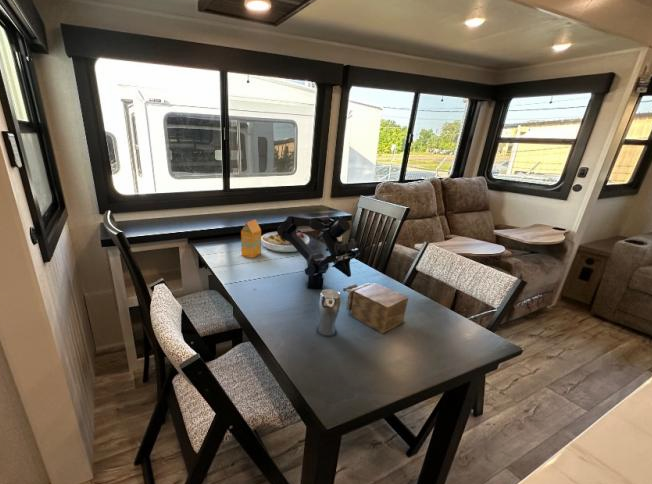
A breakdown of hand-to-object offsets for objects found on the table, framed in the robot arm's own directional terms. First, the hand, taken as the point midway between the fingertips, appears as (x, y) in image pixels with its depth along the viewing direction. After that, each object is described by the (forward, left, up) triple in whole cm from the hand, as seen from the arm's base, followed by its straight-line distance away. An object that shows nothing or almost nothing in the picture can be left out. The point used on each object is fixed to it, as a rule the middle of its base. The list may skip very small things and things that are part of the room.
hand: (349, 276), depth 124 cm
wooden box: (+10, -11, -12) cm, 19 cm away
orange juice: (-46, +52, -12) cm, 71 cm away
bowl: (-27, +70, -12) cm, 76 cm away
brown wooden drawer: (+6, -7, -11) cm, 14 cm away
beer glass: (-10, -21, -12) cm, 27 cm away
